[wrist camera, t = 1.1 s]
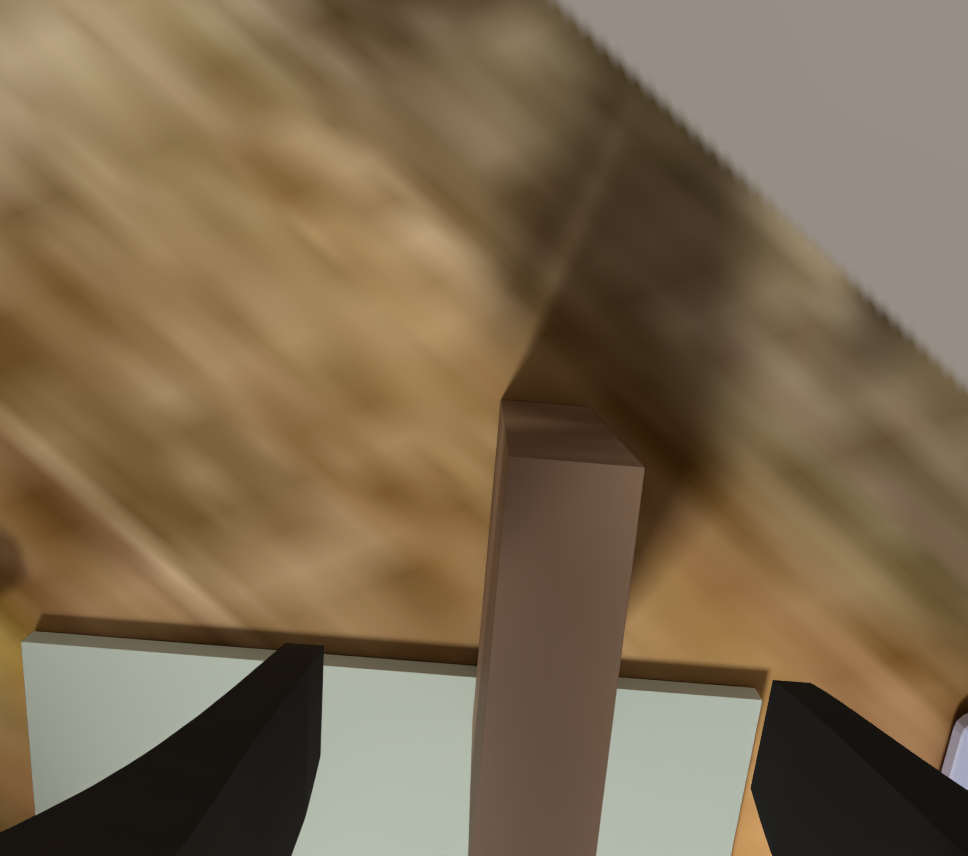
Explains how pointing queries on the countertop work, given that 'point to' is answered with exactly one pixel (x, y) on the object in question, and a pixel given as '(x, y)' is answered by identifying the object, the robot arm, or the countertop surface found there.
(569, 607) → the walnut slab
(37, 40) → the countertop surface
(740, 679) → the countertop surface
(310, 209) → the countertop surface
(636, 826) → the mat
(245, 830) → the robot arm
